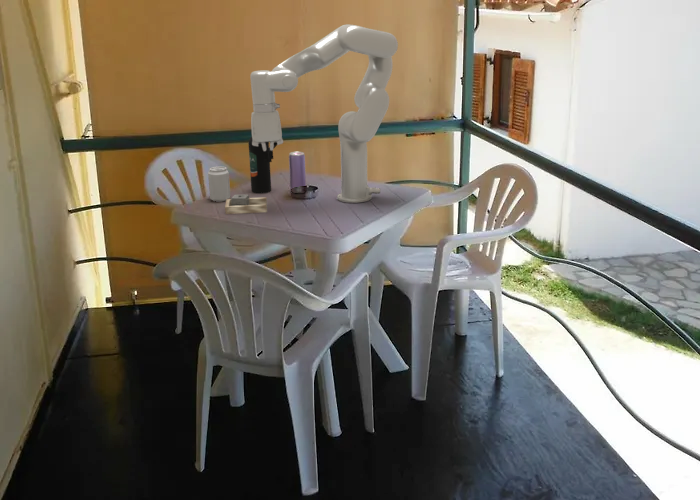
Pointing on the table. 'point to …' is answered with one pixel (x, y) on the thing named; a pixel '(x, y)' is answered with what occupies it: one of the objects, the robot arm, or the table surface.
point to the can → (219, 184)
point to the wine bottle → (259, 169)
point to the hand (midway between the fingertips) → (269, 161)
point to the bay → (247, 206)
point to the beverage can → (297, 169)
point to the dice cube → (240, 200)
